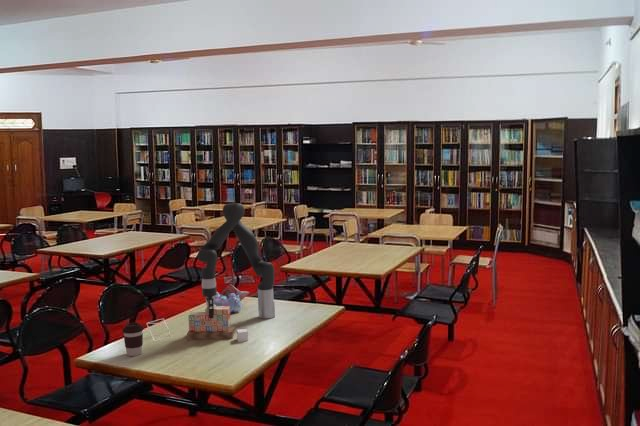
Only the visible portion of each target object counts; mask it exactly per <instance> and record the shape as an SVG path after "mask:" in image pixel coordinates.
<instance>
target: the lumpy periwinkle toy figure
mask: <svg viewBox="0 0 640 426" xmlns="http://www.w3.org/2000/svg"><path fill="white" fill-rule="evenodd" d="M249 294H251V292H249V291H243V290H242V291H240V290H239V289H238V288H236V287H235V286H234V285H232V284H231V283H229V284H228V285H227V286H225V287H224V288H223V290H221V291H220V292H218V291H217V294H216V295H215V296H212V298H213V299H214V306H230V314H231V313H232V312H233V313H238V312H240V311H241V310H242V307H243V304H242V302H241V301H242V300H244V299H245V298H246V297H248V295H249Z"/></svg>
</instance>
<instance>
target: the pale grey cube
mask: <svg viewBox="0 0 640 426" xmlns="http://www.w3.org/2000/svg"><path fill="white" fill-rule="evenodd" d="M236 338H237V339H236V340H237V341H238V343H240V342H248V341H249V332H248V329H247V328H242V329H241V328H240V329H237V330H236Z"/></svg>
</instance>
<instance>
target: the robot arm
mask: <svg viewBox="0 0 640 426" xmlns="http://www.w3.org/2000/svg"><path fill="white" fill-rule="evenodd" d="M245 213H246V212H245V207H244V205H243V204H242V203H239V202H234V203H225V204H224V205H223V207H222V214H223V216H224V218H225V220H226V221H225V222H224V223H222V225H220V226H219V227H218V228H217V229H216V230H215V231H214V232H213V233H212V234H211V237H210V238H209V240H208V241H207V242H206V243H205V244H204V245H203V246H202V247H201V248H200V249H199V251H198V253H197V259H198V261H199V262H201V263H206V266H204V267H202V268H201V292H202V293H201V296H203V297H205V304H206V308H207V307H208V309H209V310H208V311H209V318H213V311H214V306H215V305H214V299H213V298H212V297H213V296H215V295H216V294H217V292H218V291H217V280H216V267H217V263H218V253H217V251H218V250H220V248H221V247H222V245H223V244H224V242H225V240H226V238H227V237H228V235H229V234H230V233H231V232H232V231H233V232H234V234H235V236H236V237H237V239H238V242H239V243H240V245H241V247H242V249H243V250H244V252H245V254H246V256H247V258H248V260H249V263H250V264H251V267H252V270H253V273H254V274H255V275H256V276H257V277H260V278H261V282H259V283H258V284H257V306H258V318H260V319H265V320H266V319H271V318H275V317H276V313H275V312H276V310H275V309H276V308H275V299H274V285H275V284H274V283H275V266H274V264H273V263H272V262H268V261H264V260H263V259H262V257H261V255H260V253H259V242H258V239H257V238H256V235H255V234H254V232H253V230H251V229H250V228H249V227H247V226H246V225H245V223H243V222H242V221H241V219H242V218H243V217H244V215H245ZM211 307H212V309H210V308H211Z"/></svg>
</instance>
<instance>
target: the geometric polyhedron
mask: <svg viewBox="0 0 640 426" xmlns="http://www.w3.org/2000/svg"><path fill="white" fill-rule="evenodd" d="M159 320H161V321H160V323H159V322H158V323H157V321H159ZM162 322H163V323H162ZM148 324H149V325H151V324H153V325H155V324H156V325H158V326H157V327H156V330H155V331H154V332H153V333H152V331H151V329H150V326H149V325H148ZM160 325H163V326H162V327H161V330H160V331H159V333H158V335H157V334H155V333H156V331H157V330H158V328H159V327H160ZM146 326H147V329H148V331H149V333H150V335H151V338H152V339H153V341H155V342H157V341H160V340H163V339H166V338H170V337H171V336H172V335H171V333H170V329H169V327H168V325H167V323H166V321H165V318H160V319H156V320H152V321H149V322H146ZM164 326H165V327H166V328H167V331H168V332H169V335H168V336H165V337H163V338H160V339H158V337H161V334H160V333H161V332H162V330H163V329H164ZM155 336H156V337H155ZM154 337H155V338H154ZM156 339H157V340H156Z"/></svg>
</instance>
